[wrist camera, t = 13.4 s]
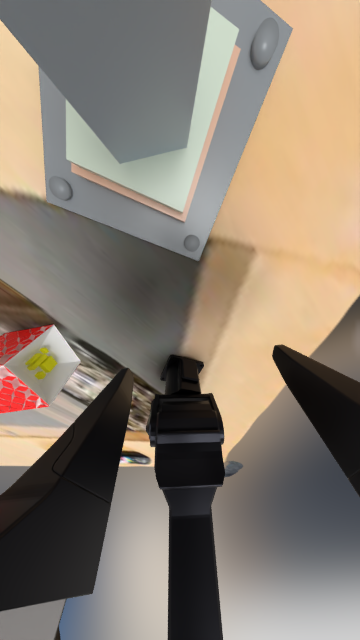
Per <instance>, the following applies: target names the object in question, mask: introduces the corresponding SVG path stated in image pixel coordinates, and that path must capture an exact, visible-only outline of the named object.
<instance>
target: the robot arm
mask: <svg viewBox="0 0 360 640" xmlns="http://www.w3.org/2000/svg"><path fill="white" fill-rule="evenodd" d="M272 357H273V360H274V362H275V364H276V366H277V368H278V370H279V371H280V373H281V375H282V377H283V379H284V381H285V383H286V384H287V386H288V388H289V389H290V391H291V392H292V394H293V395H294V397H295V398H296V400H297V401H298V403H299V404H300V406H301V408H302V409H303V411H304V412H305V414H306V415H307V417H308V418H309V420H310V421H311V423H312V424H313V426H314V427H315V429H316V431H317V432H318V434H319V435H320V437H321V438H322V440H323V441H324V443H325V444H326V446H327V447H328V449H329V450H330V452H331V454H332V455H333V457H334V458H335V460H336V461H337V463H338V464H339V466H340V467H341V469H342V470H343V472H344V473H345V475H346V476H347V478H349V479H348V480H349V481H350V483H351V484H352V486H353V487H354V489H355V491H356V492H357V494H358V495H359V497H360V382H358V381H356V380H354V379H351V378H349V377H347V376H345V375H343V374H341V373H339V372H337V371H335V370H333V369H331V368H329V367H327V366H325V365H323V364H321V363H319V362H317V361H315V360H313V359H311V358H309V357H307V356H305V355H303V354H301V353H299V352H297V351H295V350H293V349H291V348H289V347H287V346H285V345H275V346H274V350H273V355H272ZM203 367H204V363H203V362H199V361H195V360H191V359H187V358H183V357H178V356H174V355H171V356H170V357H169V359H168V361H167V364H166V366H165V368H164V370H163V373H162V375H161V380H162V381H166V389H165V395H159V394H155V399H154V400H153V401H152V403H151V410H150V415H149V419H148V422H147V426H146V432H147V433H148V435H149V440H150V446H151V447H155V473H156V479H157V482H158V485H159V488H160V489H162V490H163V493H164V495H165V498H166V500H167V503H168V505H169V580H168V583H169V584H168V587H169V589H168V640H223V634H222V623H221V612H220V601H219V589H218V578H217V567H216V556H215V545H214V533H213V522H212V512H211V511H212V510H211V504H212V501H213V498H214V495H215V492H216V489H217V487H221V486H222V485H223V481H224V476H225V469H224V463H223V457H222V448H221V445H223V443H224V428H223V422H222V418H221V415H220V412H219V409H218V407H217V404H216V402H215V399H214V396H213V394H212V393H209V394H201V389H200V383H199V373H200V371H201V370H202V368H203ZM133 382H134V377H133V375H132V373H131V371H130V369H129V368H124V369H121V370H120V372H119V373H118V374H117V375H116V376H115V377H114V378H113V379H112V380H111V382H110V383H109V384H108V385H107V386H106V387H105V388H104V389H103V390H102V392H101V393H100V394H99V395H98V396H97V397H96V398H95V399H94V400H93V402H92V403H91V404H90V405H89V406H88V407H87V408H86V409H85V410H84V412H83V413H82V414H81V415H80V416H79V417H78V418H77V419H76V420H75V423H73V424H72V425H71V426H70V427H69V428H68V429H67V430H66V431H65V432H64V434H63V435H62V436H61V437H60V438H59V439H58V440H57V441H56V442H55V443H54V444H53V445H52V446H51V447H50V448H49V449H48V450H47V451H46V452H45V453H44V454H43V455H42V456H41V457H40V458H39V459H38V460H37V461H36V462H35V463H34V464H33V465H32V466H31V467H30V468H29V469H28V470H27V471H26V472H25V473H24V474H23V475H22V476H21V477H20V478H19V479H18V480H17V481H16V482H15V483H14V484H13V485H12V486H11V487H10V488H8V489H7V490H6V491H5V492H4V493H3V494H1V495H0V640H60V632H59V623H60V620H61V616H62V613H63V609H64V606H65V602H66V599H67V598H73V597H78V596H83V595H88V594H92V593H93V590H94V585H95V581H96V576H97V571H98V566H99V561H100V556H101V551H102V546H103V541H104V537H105V532H106V527H107V522H108V517H109V512H110V507H111V502H112V497H113V492H114V487H115V482H116V477H117V472H118V467H119V462H120V457H121V452H122V447H123V443H124V438H125V433H126V428H127V423H128V418H129V413H130V408H131V402H132V392H133Z"/></svg>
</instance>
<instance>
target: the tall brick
mask: <svg viewBox="0 0 360 640" xmlns="http://www.w3.org/2000/svg"><path fill="white" fill-rule="evenodd" d="M211 1H212V0H0V20H1V21H2V22H3V23H4V24H5V26H6V27H7V28H8V29H9V31H10V32H11V33H12V34H13V35H14V37H15V38H16V39H17V40H18V41H19V43H20V44H21V45H22V46H23V47H24V49H25V50H26V51H27V52H28V53H29V55H30V56H31V57H32V58H33V60H34V61H35V62H36V63H37V64H38V66H39V67H40V68H41V69H42V70H43V72H44V73H45V74H46V75H47V76H48V78H49V79H50V80H51V81H52V82H53V84H54V85H55V86H56V87H57V89H58V90H59V91H60V92H61V93H62V95H63V96H64V97H65V98H66V99H67V101H68V102H69V103H70V104H71V105H72V107H73V108H74V109H75V110H76V111H77V113H78V114H79V115H80V116H81V118H82V119H83V120H84V121H85V122H86V124H87V125H88V126H89V127H90V128H91V130H92V131H93V132H94V133H95V134H96V136H97V137H98V138H99V139H100V140H101V142H102V143H103V144H104V145H105V147H106V148H107V149H108V150H109V151H110V153H111V154H112V155H113V156H114V157H115V159H116V160H117V161H118V162H119V163H120V164H121V163H125V162H130V161H134V160H138V159H142V158H146V157H150V156H154V155H158V154H162V153H166V152H170V151H175V150H179V149H183V148H187V144H188V138H189V132H190V126H191V120H192V114H193V108H194V102H195V96H196V90H197V84H198V78H199V73H200V67H201V61H202V55H203V49H204V43H205V37H206V31H207V25H208V19H209V13H210V7H211Z"/></svg>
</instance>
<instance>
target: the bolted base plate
mask: <svg viewBox="0 0 360 640" xmlns="http://www.w3.org/2000/svg"><path fill="white" fill-rule="evenodd" d="M292 30H293V28H292V27H290V26H289V25H288V24H287V23H286V22H285V21H284V20H282V19H281V18H280V17H279V16H278V15H277V14H275V13H274V12H273V11H272V10H271V9H270V8H269V7H267V6H266V5H265V4H264V3H263V2H262V1H261V0H212V1H211V7H210V13H209V19H208V25H207V31H206V37H205V43H204V49H203V55H202V61H201V67H200V73H199V78H198V84H197V90H196V96H195V102H194V108H193V114H192V120H191V126H190V132H189V138H188V144H187V148H183V149H179V150H175V151H170V152H166V153H162V154H158V155H154V156H150V157H146V158H142V159H138V160H134V161H130V162H125V163H121V164H120V163H119V162H118V161H117V160H116V159H115V157H114V156H113V155H112V154H111V153H110V151H109V150H108V149H107V148H106V147H105V145H104V144H103V143H102V142H101V140H100V139H99V138H98V137H97V136H96V134H95V133H94V132H93V131H92V130H91V128H90V127H89V126H88V125H87V124H86V122H85V121H84V120H83V119H82V118H81V116H80V115H79V114H78V113H77V111H76V110H75V109H74V108H73V107H72V105H71V104H70V103H69V102H68V101H67V99H66V98H65V97H64V96H63V95H62V93H61V92H60V91H59V90H58V89H57V87H56V86H55V85H54V84H53V82H52V81H51V80H50V79H49V78H48V76H47V75H46V74H45V73H44V72H43V70H42V69H41V68H40V67H39V80H40V96H41V113H42V130H43V147H44V164H45V180H46V197H47V202H49V203H51V204H54V205H57V206H59V207H62V208H64V209H67V210H69V211H72V212H74V213H77V214H79V215H82V216H85V217H87V218H90V219H92V220H95V221H97V222H100V223H102V224H105V225H108V226H110V227H113V228H115V229H118V230H120V231H123V232H125V233H128V234H130V235H133V236H136V237H138V238H141V239H143V240H146V241H148V242H151V243H153V244H156V245H158V246H161V247H164V248H166V249H169V250H171V251H174V252H176V253H179V254H181V255H184V256H186V257H189V258H192V259H194V260H197V261H199V259H200V256H201V254H202V251H203V249H204V247H205V244H206V242H207V239H208V237H209V234H210V232H211V229H212V227H213V224H214V222H215V219H216V217H217V214H218V212H219V210H220V207H221V205H222V202H223V200H224V197H225V195H226V192H227V190H228V187H229V185H230V182H231V180H232V177H233V175H234V173H235V170H236V168H237V165H238V163H239V160H240V158H241V155H242V153H243V150H244V148H245V145H246V143H247V141H248V138H249V136H250V133H251V131H252V128H253V126H254V123H255V121H256V118H257V116H258V113H259V111H260V108H261V106H262V104H263V101H264V99H265V96H266V94H267V91H268V89H269V86H270V84H271V81H272V79H273V76H274V74H275V71H276V69H277V67H278V64H279V62H280V59H281V57H282V54H283V52H284V49H285V47H286V44H287V42H288V39H289V37H290V35H291V32H292Z"/></svg>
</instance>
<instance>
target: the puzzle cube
mask: <svg viewBox="0 0 360 640" xmlns="http://www.w3.org/2000/svg"><path fill="white" fill-rule="evenodd" d="M80 362H81V361H80V360H79V358H78V357H77V355H76V354H75V353H74V351H73V350H72V349H71V347H70V346H69V345H68V343H67V342H66V340H65V339H64V338H63V336H62V335H61V334H60V332H59V331H58V330H57V328H56V327H55V326H54V324H53V325H47V326H42V327H37V328H31V329H26V330H20V331H15V332H9V333H5V334H3V335H2V336H0V413H7V412H13V411H20V410H27V409H34V408H41V407H48V406H50V405H51V404H52V402H53V401H54V400H55V398H56V397H57V395H58V394H59V392H60V391H61V390H62V388H63V387H64V385H65V384H66V382H67V381H68V379H69V378H70V377H71V375H72V374H73V372H74V371H75V369H76V368H77V366H78V365H79V364H80Z"/></svg>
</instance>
